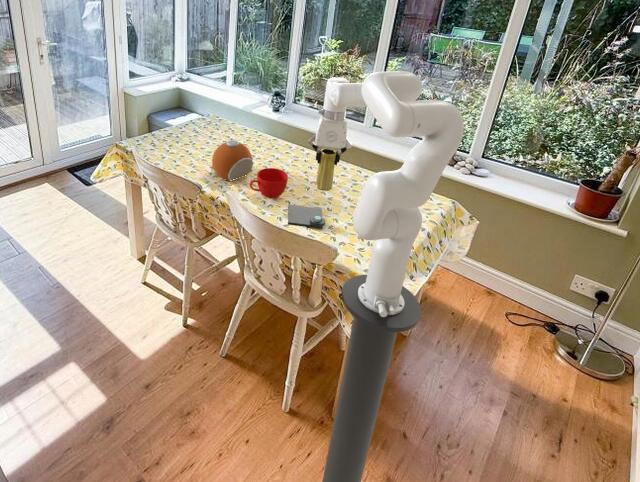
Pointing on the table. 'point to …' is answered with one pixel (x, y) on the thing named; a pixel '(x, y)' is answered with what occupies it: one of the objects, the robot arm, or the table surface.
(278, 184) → the ceramic cup
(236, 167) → the alarm clock
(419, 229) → the robot arm
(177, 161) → the table surface
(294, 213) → the scale
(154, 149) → the table surface
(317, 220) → the button
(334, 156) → the vase
